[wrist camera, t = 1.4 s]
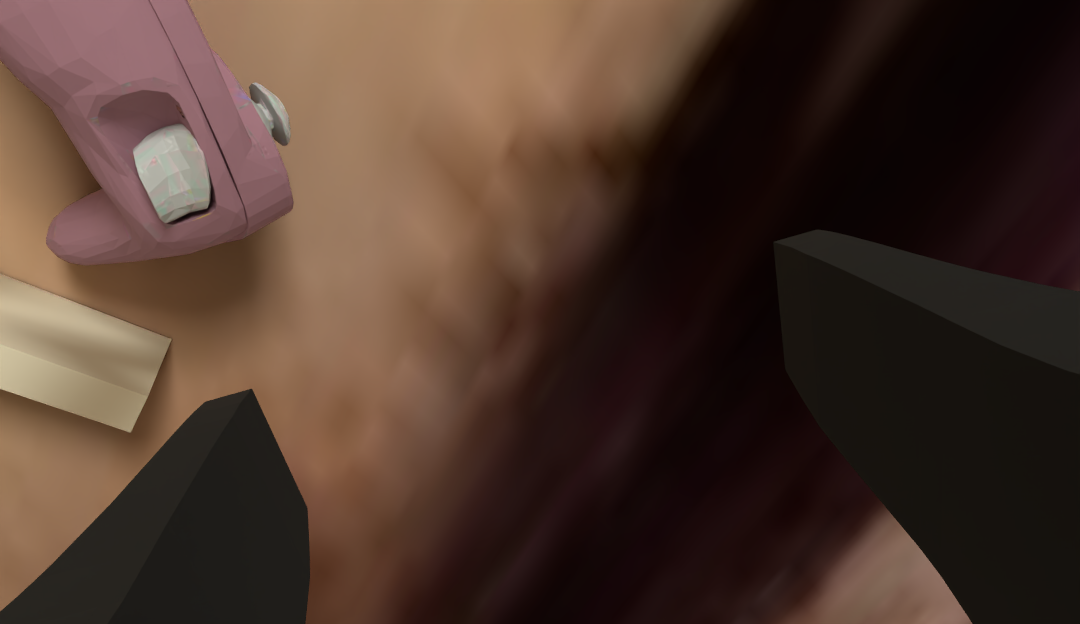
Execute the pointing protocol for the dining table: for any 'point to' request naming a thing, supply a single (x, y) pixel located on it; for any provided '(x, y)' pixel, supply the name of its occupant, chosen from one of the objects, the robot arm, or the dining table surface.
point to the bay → (75, 355)
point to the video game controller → (149, 127)
